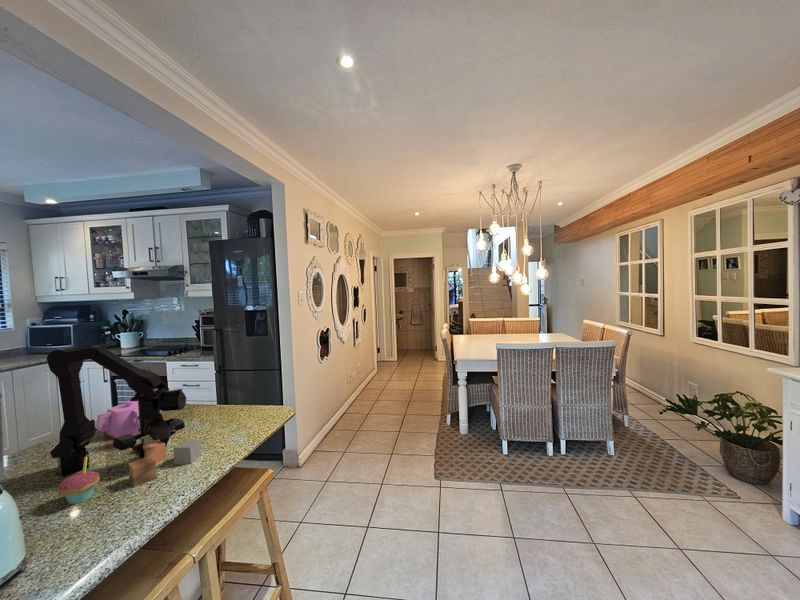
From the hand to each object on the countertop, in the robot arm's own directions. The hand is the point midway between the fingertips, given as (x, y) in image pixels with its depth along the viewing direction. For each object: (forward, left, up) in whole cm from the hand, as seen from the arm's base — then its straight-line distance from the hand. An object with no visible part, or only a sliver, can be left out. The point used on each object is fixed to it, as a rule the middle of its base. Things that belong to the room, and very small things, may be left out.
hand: (152, 458), depth 113 cm
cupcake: (-20, -5, -1) cm, 21 cm away
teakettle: (+9, +38, -1) cm, 39 cm away
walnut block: (-7, -10, -1) cm, 12 cm away
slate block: (+6, -10, -1) cm, 12 cm away
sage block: (+6, +10, -1) cm, 12 cm away
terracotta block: (0, 0, -1) cm, 1 cm away
